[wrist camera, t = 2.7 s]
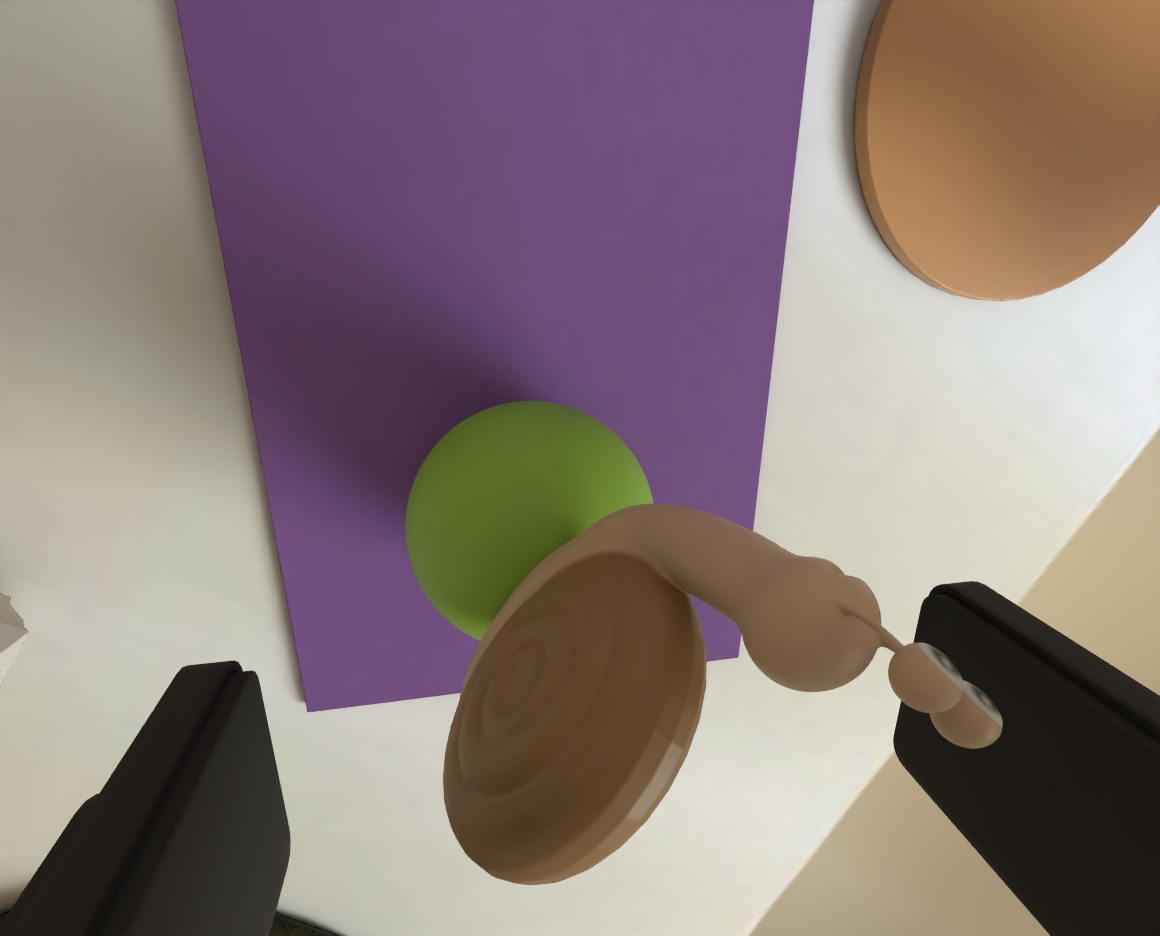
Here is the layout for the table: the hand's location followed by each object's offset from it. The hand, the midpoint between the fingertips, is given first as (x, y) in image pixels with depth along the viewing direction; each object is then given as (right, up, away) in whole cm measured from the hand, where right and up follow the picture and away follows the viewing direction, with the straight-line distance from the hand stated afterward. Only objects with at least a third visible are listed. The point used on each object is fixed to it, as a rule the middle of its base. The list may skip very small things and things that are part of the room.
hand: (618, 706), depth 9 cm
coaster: (+11, +13, +7) cm, 18 cm away
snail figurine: (-2, +3, +8) cm, 9 cm away
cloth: (-2, +6, +7) cm, 9 cm away
